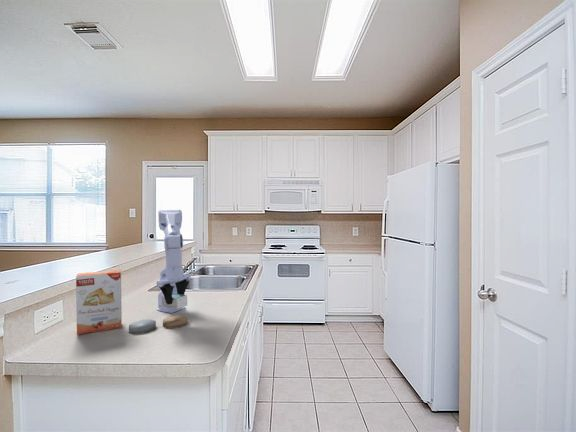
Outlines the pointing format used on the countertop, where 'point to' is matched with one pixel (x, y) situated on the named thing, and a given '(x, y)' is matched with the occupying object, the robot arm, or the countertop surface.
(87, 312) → the cracker box
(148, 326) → the grey stand
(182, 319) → the walnut stand
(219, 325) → the countertop surface
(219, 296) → the countertop surface
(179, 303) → the white and teal box
